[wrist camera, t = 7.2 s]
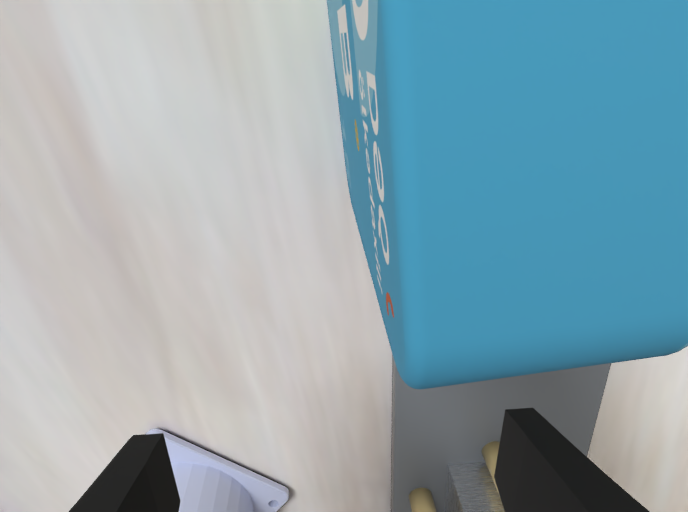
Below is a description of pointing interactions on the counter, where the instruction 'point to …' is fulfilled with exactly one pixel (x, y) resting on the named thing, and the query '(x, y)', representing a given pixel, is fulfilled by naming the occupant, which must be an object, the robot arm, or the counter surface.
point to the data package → (518, 179)
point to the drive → (471, 489)
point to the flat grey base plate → (479, 425)
